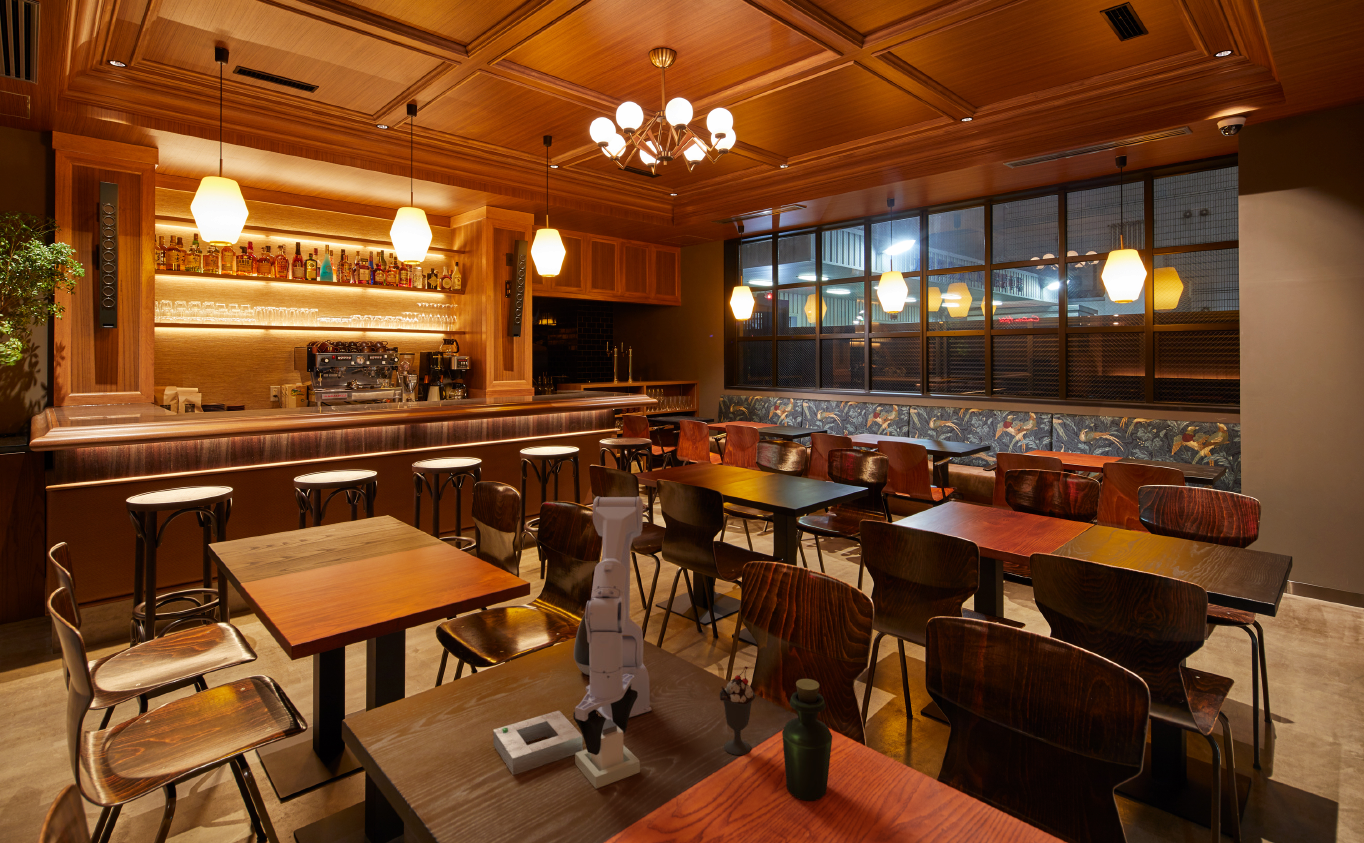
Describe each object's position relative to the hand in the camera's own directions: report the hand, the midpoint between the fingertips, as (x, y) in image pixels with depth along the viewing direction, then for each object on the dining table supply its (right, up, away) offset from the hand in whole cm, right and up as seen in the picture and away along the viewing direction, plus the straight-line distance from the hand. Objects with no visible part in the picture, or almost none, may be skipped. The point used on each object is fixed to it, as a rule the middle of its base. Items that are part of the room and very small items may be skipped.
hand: (606, 741), depth 115 cm
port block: (-14, -4, +6) cm, 16 cm away
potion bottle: (+34, -5, -6) cm, 35 cm away
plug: (0, -5, 0) cm, 5 cm away
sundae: (+23, -5, +7) cm, 25 cm away
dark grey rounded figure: (-7, -2, +38) cm, 39 cm away
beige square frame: (0, -5, 0) cm, 5 cm away
